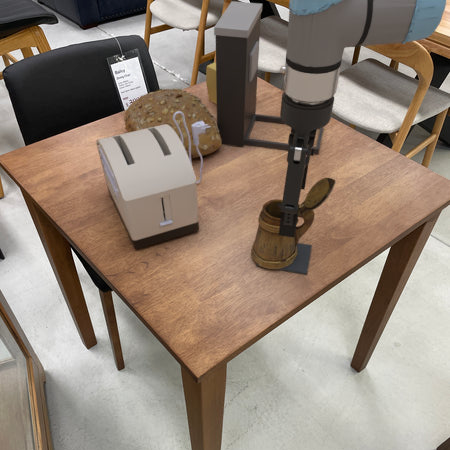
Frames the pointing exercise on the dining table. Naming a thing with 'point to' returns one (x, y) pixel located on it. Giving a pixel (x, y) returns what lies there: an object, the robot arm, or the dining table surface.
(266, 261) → the wooden mug
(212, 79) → the cheese
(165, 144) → the toaster
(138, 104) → the bread
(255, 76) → the coffee maker
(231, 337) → the dining table surface
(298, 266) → the mat
